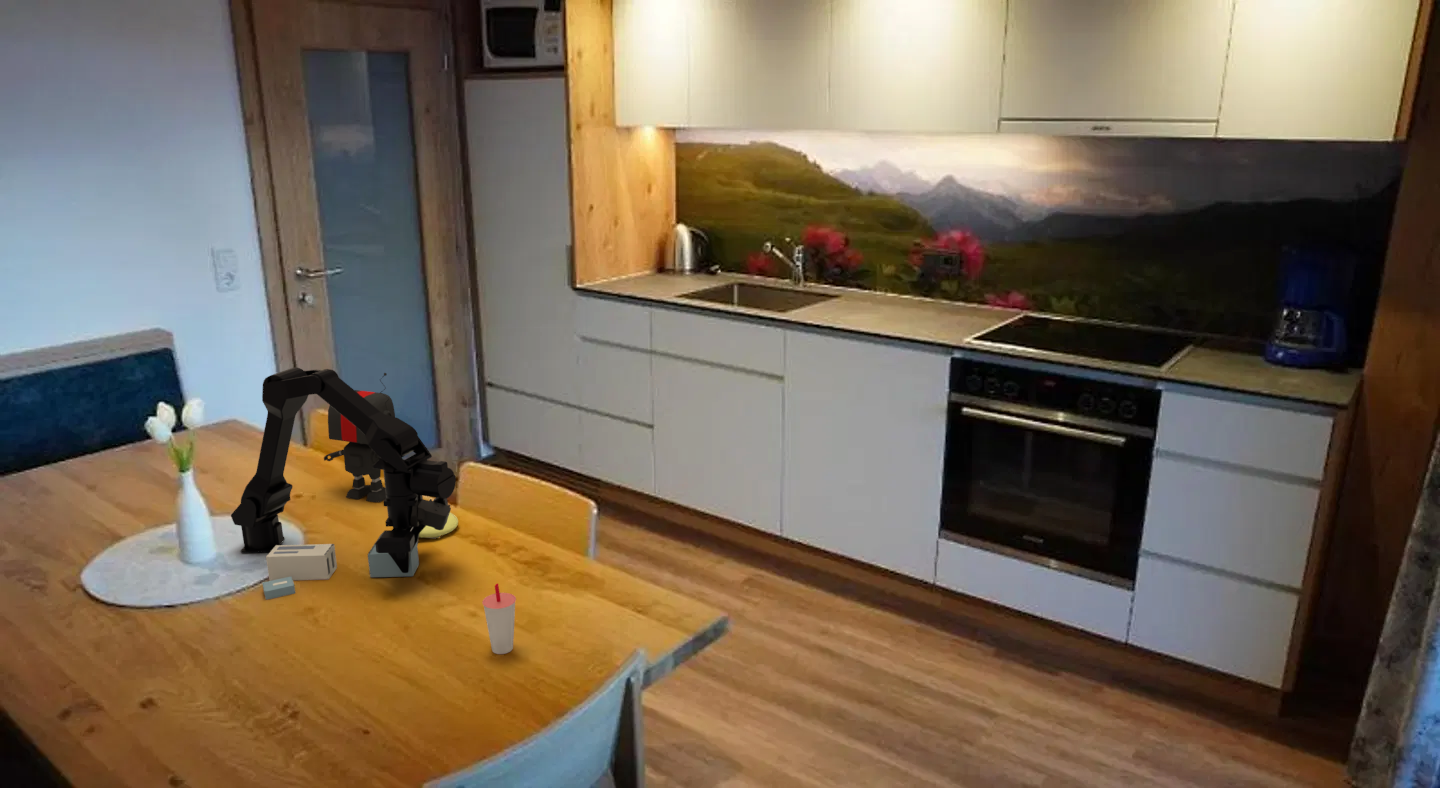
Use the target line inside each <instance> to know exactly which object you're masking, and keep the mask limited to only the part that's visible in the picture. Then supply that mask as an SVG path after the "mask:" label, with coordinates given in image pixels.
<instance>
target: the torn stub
mask: <svg viewBox="0 0 1440 788" xmlns="http://www.w3.org/2000/svg"><path fill="white" fill-rule="evenodd" d="M261 584H262V589H263V590H262V591H263V594H264V597H265V600H271V599H277V598H280V597H285V596H290V595H294V594H296V588H295V583H294V580H292V577H286V578H282V579H277V580H272V581H269V580H268V581H264V582H262V583H261Z"/></svg>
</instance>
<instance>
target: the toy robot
mask: <svg viewBox="0 0 1440 788" xmlns="http://www.w3.org/2000/svg"><path fill="white" fill-rule="evenodd" d="M386 376H387V373H386V372H384V373H383V377H386ZM379 381H380V383H381V384H382V385H383V387H384V389H383V390H381V391H380V392H374V391H369V390H368V391H367V390H357V389H354V390H355V391H356V392H357V393H358V394H360V395H361V396H362V397H363V398H364V399H366V400H367V401H368V402H369V403H370V404H372V405H373V406H374V407H375V408H377V409H378V410H379V411H380V412H382V413H383V414H385V415H388V416H392V417H395V418H396V412H395V407H394V406H395V405H394V403H393V399H392V398H391V396H389V394H386V393H382V392H383V391H385V390H386V389H387V388H386V386H385V385H384V383H383V382H382V379H379ZM327 428H328V429H327V430H328V439H329V440H333V441H334V440H335V441H341V442H348V443H347V444H346V445H345V446H344V447H343V449H340V450H336V451H334V452H330V453H328V454H326V455H324V457H323V461H327V462H331V461H333V460H334V459H335V458H338V457H341V456H343V461H344V471H345V472H347V473H349V474H352V477H354V478H353V479H352V488H350V489H349V490H347V492H346V496H345V498H347V499H352V500H361V499H362V498H364V497H365V496H366V499H365V501H366V502H371V503H372V502H373V503H382V502H383V501H384V500H385V498H386V490H385V486H384V485H383V481H382V479H381V471H382V470H381V469H374V468H373V465H374V464H375V463H376V462H377V461H378V460H379V459H380V457H379V456H378V455H377V454H376V453H375V452H374V451H373V450H372V449H371V447H370V446H369V445H368V442H367V439H366V436H365V435H364V433H363V432H362V431H361V430H359V429H358V428H357V427H356V426H355V425H353V424H352V423H351V422H350V421H349V420H347V419H346V418H345V417H344V416H343V415H341V414H340V413H339V412H338V411H337V410H335V409H334V408H333V407H332V406H330V405H329V406H328V410H327ZM329 456H330V458H329ZM364 476H369V479H370V480H371V481H370V485H369V484H367V485H366V480H365V477H364Z"/></svg>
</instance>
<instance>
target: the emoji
mask: <svg viewBox="0 0 1440 788" xmlns="http://www.w3.org/2000/svg"><path fill="white" fill-rule="evenodd" d="M458 525H459V519H458V517H457V516H456V515H455V514H454V513H452V512H451V511H450V513H449V516H448V520H447V523H446V524H445V526H444V529H443V530H436V529H435V528H433V527H430V526H425V528H424V529H423V530H422V531H421V532H420V534H419V538H426V539H436V538H439V537H440V536H441V535H442V536H444V535H446V534H450V533H451V532H452V531H454V530H455V529H456V528H457V526H458ZM442 536H441V537H442ZM441 537H440V538H441ZM440 538H439V539H440Z"/></svg>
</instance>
